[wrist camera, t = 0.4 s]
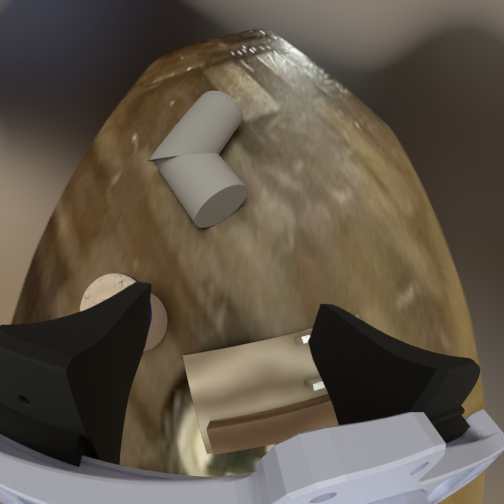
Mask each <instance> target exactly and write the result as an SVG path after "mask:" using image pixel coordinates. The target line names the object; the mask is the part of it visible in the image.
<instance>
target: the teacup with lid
mask: <svg viewBox="0 0 504 504" xmlns="http://www.w3.org/2000/svg"><path fill="white" fill-rule="evenodd" d="M135 282H138V281H137V280H136V279H134V278H133V277H131V276H129V275H126V274H122V273H111V274H106V275H104V276H101V277H99V278H98V279H96V280H95V281H94V282H93V283H92V284H91V285H90V286H89V287H88V288H87V290H86V292H85V293H84V296H83V298H82V301H81V306H80V311H83V310H86V309H88V308H90V307H92V306H95V305H96V304H98V303H100V302H102V301H104V300H106V299H108V298H110V297H112V296H113V295H115V294H117V293H118V292H120V291H122V290H123V289H125V288H126V287H128V286H130V285H131V284H133V283H135ZM167 324H168V319H167V313H166V310H165V307H164V305H163V304H162V302H161V301H160V300H159V299H158V298H157V297H156V296H155V295H154V294H152V293H151V299H150V327H149V332H148V337H147V341H146V346H145V348H144V351H148V350H150V349H152V348H154V347H156V346H157V345H158V344H159V343H160V342H161V340H162V339H163V337H164V335H165V333H166V330H167ZM144 351H143V352H144Z"/></svg>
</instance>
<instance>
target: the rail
mask: <svg viewBox="0 0 504 504" xmlns="http://www.w3.org/2000/svg"><path fill="white" fill-rule="evenodd" d="M337 425H338V421H337V418H336V414H335V411H334V408H333V404H332V402H331V399H330V397H329V395H328V394H325V395H322V396H319V397H316V398H312V399H309V400H305V401H302V402H298V403H295V404H291V405H287V406H283V407H279V408H275V409H271V410H266V411H262V412H257V413H253V414H248V415H243V416H237V417H232V418H226V419H220V420H213V421H210V422H209V424H208V426H207V429H206V430H207V434H208V438H209V441H210V445H211V448H212V452H213V455H214V454H221V453H228V452H234V451H240V450H246V449H251V448H256V447H261V446H266V445H270V444H274V443H278V442H281V441H283V440H285V439H287V438H289V437H291V436H293V435H295V434H297V433H300V432H305V431H309V430H314V429H318V428H322V427H329V426H337Z"/></svg>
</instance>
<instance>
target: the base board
mask: <svg viewBox="0 0 504 504" xmlns="http://www.w3.org/2000/svg"><path fill="white" fill-rule="evenodd" d="M312 329H313V328H312ZM312 329H308V330H304V331H300V332H296V333H292V334H288V335H284V336H280V337H276V338H271V339H267V340H263V341H258V342H253V343H249V344H244V345H239V346H234V347H229V348H224V349H219V350H213V351H208V352H202V353H196V354H190V355H183V359H184V364H185V369H186V373H187V378H188V382H189V387H190V391H191V395H192V399H193V403H194V407H195V411H196V415H197V419H198V423H199V427H200V430H201V434H202V438H203V441H204V445H205V448H206V452H207V454H209V453H213V452H212V448H211V445H210V441H209V438H208V434H207V430H206V429H207V426H208V424H209V422H210V421H213V420H220V419H226V418H232V417H237V416H243V415H248V414H253V413H257V412H262V411H266V410H271V409H275V408H279V407H283V406H287V405H291V404H295V403H298V402H302V401H305V400H309V399H312V398H316V397H319V396H322V395H325V394H328V392H327V390H326V388H322V389H318V390H315V391H314V390H312V389H310V388H308V387H306V385H305V381H304V380H308V379H311V378H315V377H318V376H320V375H319V373H318V370H317V368H316V366H315V364H314V361H313V358H312V355H311V352H310V347H309V343H308V342H307V343H304V344H296V342H295V338H298V337H302V336H306V335H309V334H311V332H312Z"/></svg>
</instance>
